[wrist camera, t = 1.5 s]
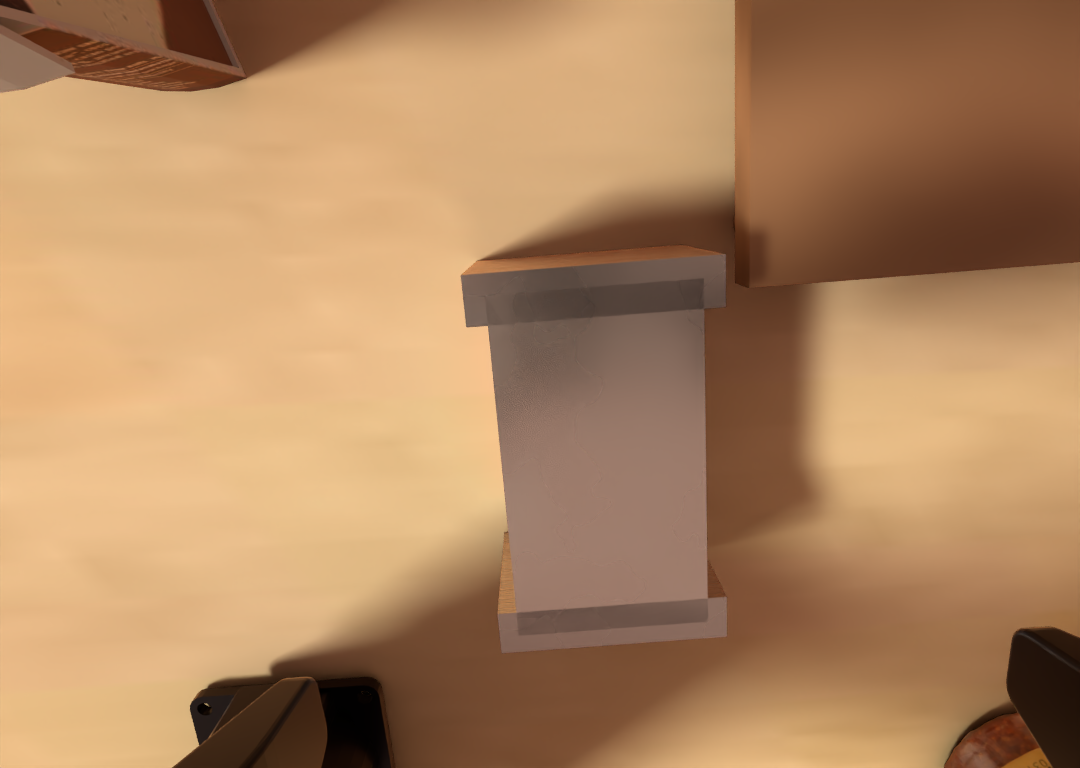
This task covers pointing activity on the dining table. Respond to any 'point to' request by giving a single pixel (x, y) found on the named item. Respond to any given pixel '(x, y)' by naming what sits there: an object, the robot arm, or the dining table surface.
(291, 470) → the dining table surface
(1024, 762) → the sauce bottle
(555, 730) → the dining table surface
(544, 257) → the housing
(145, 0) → the food container
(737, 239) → the stand
